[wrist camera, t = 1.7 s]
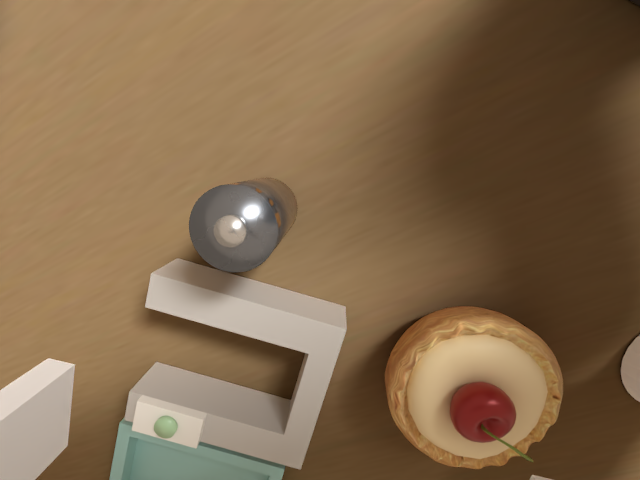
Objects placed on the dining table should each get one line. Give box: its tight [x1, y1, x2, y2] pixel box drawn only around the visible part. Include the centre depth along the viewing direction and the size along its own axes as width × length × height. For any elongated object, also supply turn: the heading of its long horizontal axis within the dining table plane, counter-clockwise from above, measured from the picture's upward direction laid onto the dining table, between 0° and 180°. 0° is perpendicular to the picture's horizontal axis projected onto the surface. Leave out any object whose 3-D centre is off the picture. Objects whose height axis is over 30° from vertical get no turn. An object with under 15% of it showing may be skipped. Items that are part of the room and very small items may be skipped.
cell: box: [189, 178, 297, 272], centre depth 22 cm, size 5×5×10 cm
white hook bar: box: [124, 258, 347, 470], centre depth 27 cm, size 12×14×5 cm
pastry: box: [385, 306, 563, 470], centre depth 25 cm, size 12×12×9 cm
